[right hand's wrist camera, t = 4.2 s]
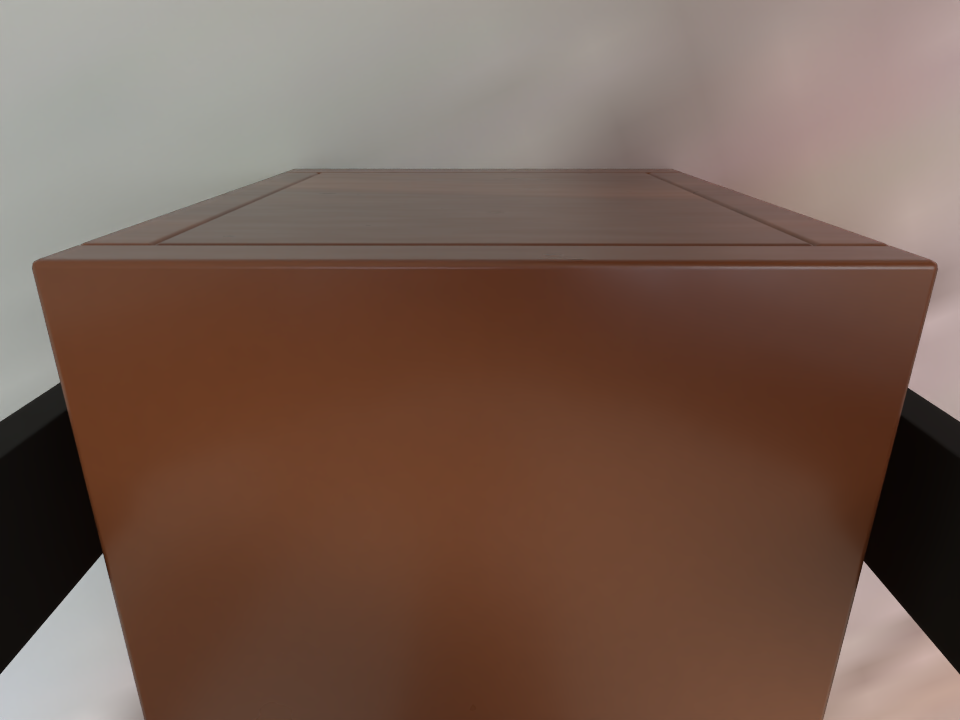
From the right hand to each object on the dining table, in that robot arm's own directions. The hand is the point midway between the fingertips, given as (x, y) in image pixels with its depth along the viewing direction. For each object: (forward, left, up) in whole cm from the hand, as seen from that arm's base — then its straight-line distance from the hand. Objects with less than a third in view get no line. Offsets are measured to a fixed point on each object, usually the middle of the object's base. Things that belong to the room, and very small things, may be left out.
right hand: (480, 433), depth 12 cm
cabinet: (+3, +5, -8) cm, 10 cm away
